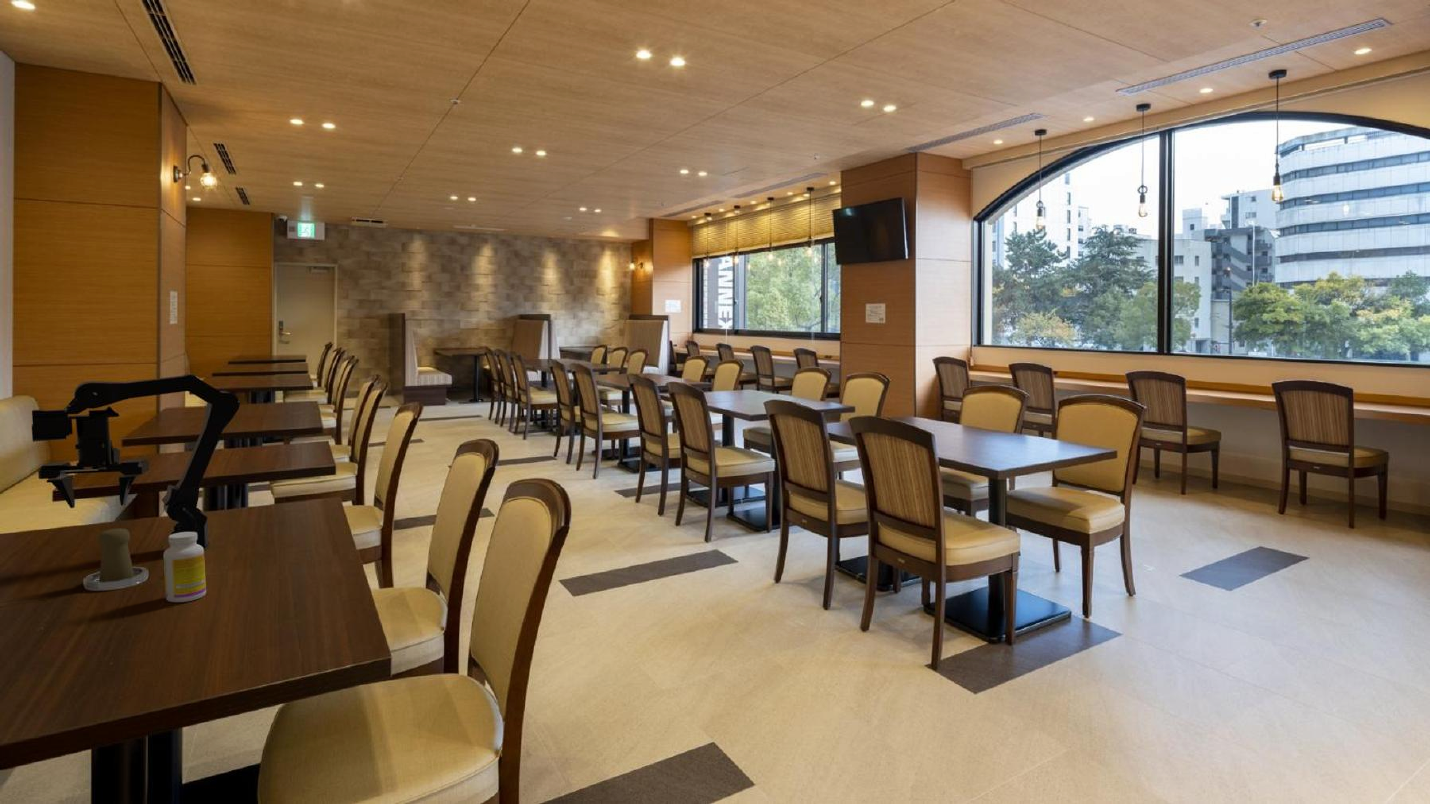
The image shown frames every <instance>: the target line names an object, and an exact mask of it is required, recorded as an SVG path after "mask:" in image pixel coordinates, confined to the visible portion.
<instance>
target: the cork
mask: <svg viewBox="0 0 1430 804" xmlns="http://www.w3.org/2000/svg"><path fill="white" fill-rule="evenodd" d="M130 539H131V533H130V531H129V530H127V528H120V527H119V528H110V529H107V530H106V529H105V530H104V531H102V532H101V533H100V534H99V536H98V543H99V545H100V546H101V547H102V551H101V559H100V568H99V571H100V577H99V582H104V581H115V580H120V579H125V578H130V577H133V576H135V575H134V571H133V567H134V566H133V563H132V558H131V554H130V550H129V546H128V543H129V541H130Z"/></svg>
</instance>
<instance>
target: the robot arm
mask: <svg viewBox="0 0 1430 804" xmlns="http://www.w3.org/2000/svg"><path fill="white" fill-rule="evenodd" d="M181 392H182V393H183V392H189V393H190V394H193V395H194V396H196V397H197V398H199V399H201V400H202V401H204V402H206V406H205V407H206V408H205V414H204V423H203V426H202V429H201V431H200V434H199V436H198V438H197V440H196V442H195V445H194V448H193V450H192V453H191V455H190V457H189V460H188V462H187V463H186V466H185V469H184V472H183V473H182V476H181V478H180V480H179V481H177V483H176V485H171V484H167V489H166V494H165V495H164V497H163V498H162V499H161V501H162V504H163V510H164V512H165V513H166V515H167V517H168V518H169V519H171V520H172V521H174V522H177V523H176V524H174V525H173V530H172V532H171V534H170V535H172V534H175V533H181V532H196V533H197V541H196V544H198V545H201V546H202V547H203V549H204V551H206V549H207V548H209V546H211V543H212V542H211V541H209V528H208V527H209V526H208V516H207V515H206V514H205V513H204V511H202V509H200V508H199V507H198V502H199V497H200V485H201V484H202V481H203V479H204V476H205V474H206V471H207V469H208V466H209V464H210V461H211V459H212V457H213V455H214V452H215V451H216V448H217V446H218V443H219V440H220V438H221V436H222V434H223V431H224V430H225V428H226V427H227V426H228V425H229V423H231V421H232V420H233V418H234V417H235V416H236V414H237V413H238V411H239V409H240V406H241V404H240V403H241V401H240V400H239V398H238V397H237V395H235V394H233V393H231V392H228V391H226V390H225V391H224V390H218V389H217V388H215V387H213V386H212V385H210V384H208V383H206V382H205V381H203V380H202V379H200V377H199V376H197V375H195V374H191V373H186V374H183V375H176V376H167V377H159V378H151V379H142V380H133V381H125V382H124V381H119V382H118V381H101V380H100V381H99V380H98V381H96V380H95V381H94V380H90V381H88V380H87V381H83V382H81V383H79V384H78V385H77V386H76V387H75V388H74V391H73V396H74V397H73V398H72V399H71V401H70V402H69V403H67V404H66V405H65V407H64V408H63V409H32V411H31V416H32V417H31V419H32V421H31V422H32V423H31V436H32V442H36V443H37V442H48V441H49V442H50V441H64V440H65V441H66V440H67V437H69V436H70V435H71V436H72V435H74V434H73V420H75V426H76V444H75V450H77V460H78V462H76V464H75V465H73V464H71V462H70V461H57V462H56V461H55V462H49V463H46V464H43V465H41V466H40V467H39V468H38V473H37V474H38V479H39V480H46V483H51V484H52V485H53V486H54V487H55V488H56V490H58V492H59V493H60V494H61V496H62V497H63V498H64V500H65V501H66V502H65V503H66V504H67V505H68V506H69V508H70V509H74V508H75V505H76V504H75V503H76V499H75V493H74V488H73V479H74V475H75V474H88V473H89V474H92V473H116V472H117V473H118V472H120V473H121V474H122V475H121V476H119V477H118V482H119V483H118V484H119V485H118V487H119V488H118V491H119V492H118V493H119V503H120V506H124V505H125V503H126V500H127V498H128V495H129V492H130V490H131V488H132V487H131V486H132V485H133V483H134V481H135V480H136V479H137V478H138V477H141V476H142V475H143V474H145V473H147V472H149V471H150V462H149V460H147V459H146V458H134V459H133V458H132V459H126V460H123V461H121V460H120V458H121V450H120V449H118V448H117V447H114V446H113V440H112V439H111V435H110V418H118V417H120V414H119V413H118V411H115V410H114V409H113V408H112V406H110V405H112V404H116V403H119V402H122V401H126V400H129V399H135V398H137V399H138V398H144V397H151V396H159V395H168V394H175V393H181ZM105 406H106V408H105V409H98V408H102V407H105ZM87 409H90V410H88V414H81V413H83V412H84V411H86V410H87ZM120 461H121V462H120ZM73 474H74V475H73Z"/></svg>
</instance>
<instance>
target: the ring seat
mask: <svg viewBox="0 0 1430 804" xmlns="http://www.w3.org/2000/svg"><path fill="white" fill-rule="evenodd" d="M133 571H134V575H135V576H133V577H130V578H125V579H120V580H115V581H104V582H99V577H100V570H99V571H97V572H95V573H90V574H89V575H87V576H85V577H84V578H83V579H82V582H83V587H84V589H85V590H87V591H91V592H92V591H93V592H102V591H103V592H105V591H113V590H121V589H125V588H130V587H134V586H136V585H139V584H142V583H144V582H146V581H147V580H148V577H149V569H147V568H146V567H144V566H143V567H141V566H133Z"/></svg>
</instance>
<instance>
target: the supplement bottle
mask: <svg viewBox="0 0 1430 804" xmlns="http://www.w3.org/2000/svg"><path fill="white" fill-rule="evenodd" d="M196 541H197V533H196V532H181V533H175V534H172V535H171V534H169V536H168V541H167V543H169V547H168V548H167V549H165V550H164V552H163V556H162V557H163V558H162V559H163V569H164V571H163V573H164V589H165V599H166V600H167V601H168V602H170V603H185V602H186V603H187V602H191V601H195V600H198V599H201V598H203V597H204V596H205V595H206V593H207V581H206V579H207V577H206V565H205V561H206V560H205V550H204V549H203V547H202V546H201V545H198V544H196Z"/></svg>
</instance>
